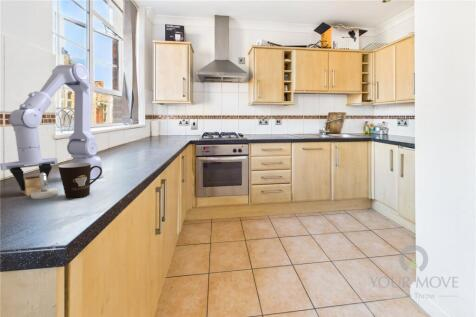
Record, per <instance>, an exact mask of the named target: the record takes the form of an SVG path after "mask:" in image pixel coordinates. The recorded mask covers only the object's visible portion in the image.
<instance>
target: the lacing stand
mask: <svg viewBox="0 0 476 317" xmlns="http://www.w3.org/2000/svg"><path fill="white" fill-rule="evenodd" d="M58 195H59V189H58V188H56V187H51V188H49V187H48V191H46V192H41V189H40V190H36V191H33V192H31V195H30V199H32V200H43V199H50V198H54V197H57V196H58Z"/></svg>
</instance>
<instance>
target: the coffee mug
mask: <svg viewBox="0 0 476 317" xmlns="http://www.w3.org/2000/svg"><path fill="white" fill-rule="evenodd" d="M57 167H58V171H59V175H60V179H61V183H62V184H61V185H62V188H63V192H64V196H65V199H68V200H76V199H77V200H78V199H83V198H86V197H88V196H90V193H91V192H90V191H91V190H90V189H91V185H92V184H94V183H95V181H97V180H98V179H100V178H99V177H100V176H101V174H102V175H103V167H102V168H101V167H99V166H93V167H91V163H73V162H71V163H64V164H60V165H58V166H57ZM96 167H97V168H99V169H100V174H99V175H98V177H96V178H95V179H92V180H91V179H90V173H91V170H92V169H93V168H96Z"/></svg>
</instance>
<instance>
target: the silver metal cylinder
mask: <svg viewBox="0 0 476 317" xmlns="http://www.w3.org/2000/svg"><path fill="white" fill-rule="evenodd" d="M38 176H39V179H40V187H41V192H46V191H48V188H49V187H48V178H47V177H46V173H40V172H39V175H38Z"/></svg>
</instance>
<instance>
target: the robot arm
mask: <svg viewBox="0 0 476 317" xmlns="http://www.w3.org/2000/svg"><path fill="white" fill-rule="evenodd" d="M63 85H65V86H67V87H68V88H70V89H71V90H72V91H73V92H74V100H73V101H74V104H73V106H74V113H73V114H74V115H73V116H74V122H73V128H74V130H73V132H72V134H70V136H68V143H67V145H66V150H67V152H68V154H69V155H70V156H71V158H72V160H73V162H72V163H91V167H93V166H99V167H101V168H102V169H103V164H102V159H101V156H99V155H96V154H97V153H98V151H99V146H98V143H97V137H95V136H94V135H93V134H92V132H91V105H92V104H91V103H92V102H91V95H92V94H91V84H90V71H89V70H88V69H87V67H86V66H85V65H84V64H82V63H78V62H77V63H72V64H71V63H70V64H69V63H68V64H58V65H56V66H55V68H54V69H52V71H51V75H50V76H49V77H48V79H47V80H46V82H45V83H44V85H43V86H42V87H41V89H40V90H39V91H33V92H29V93H28V95H27V96H28V97H27V98H26V100H25V101H24V102H23V103H20V105H19V108H18V109H14V110H13V111H11V113H10V114H9V117H8V118H7V120H8V123H9V125H11V127H12V128H13V132H14V135H15V143H16V151H17V156H18V160H16V161H10V162H3V163H0V171H7V170H8V171H9V172H10V173H11V175H12V176H13V177H14V178H15V180H16V181H17V184H18V186H19V188H20V191H25V185H24V178H25V177H24V170H23V169H24V168H31V167H32V168H33V167H38V171H39V174H40V173H46V177H47V179H48V178H49V175H50V173H51V171H52V168H53V165H58V164H59V163H58V162H59V161H58V158H56V157H51V158H48V157H47V158H42V153H41V147H40V137H39V128H38V127H39V126H40V125H41V124H42V123H43V122H42V120H43V118H42V116H43V114H44V113H45V112H46V111H47V110H48V108H49V107H50V106H51V105H52V99H51V98H52V97H53V96H54V95H55V94H56V93H57V92H58V90H60V89H61V88H62V86H63ZM99 174H100V169H99V168H97V167H96V168H93V169H92V170H91V173H90V180H94V179H95V178H96V177H98V175H99ZM101 178H104V175H103V173H102V174H101V176H100V177H99V178H98V179H101Z"/></svg>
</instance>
